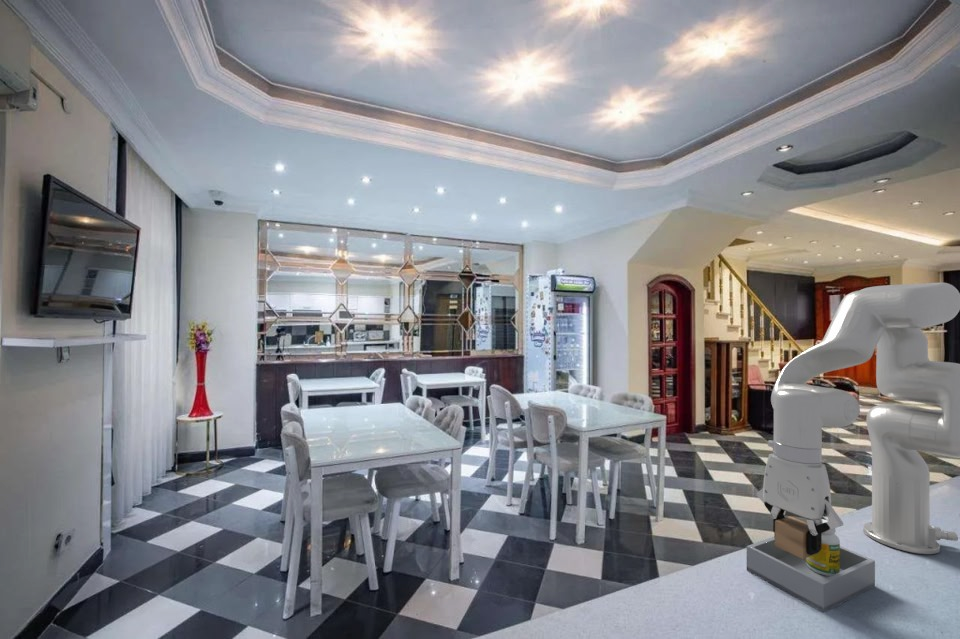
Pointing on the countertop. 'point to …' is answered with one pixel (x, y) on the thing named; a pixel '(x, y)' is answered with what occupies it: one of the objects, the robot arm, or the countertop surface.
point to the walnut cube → (792, 536)
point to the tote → (811, 575)
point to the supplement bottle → (826, 555)
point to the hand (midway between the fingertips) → (796, 544)
